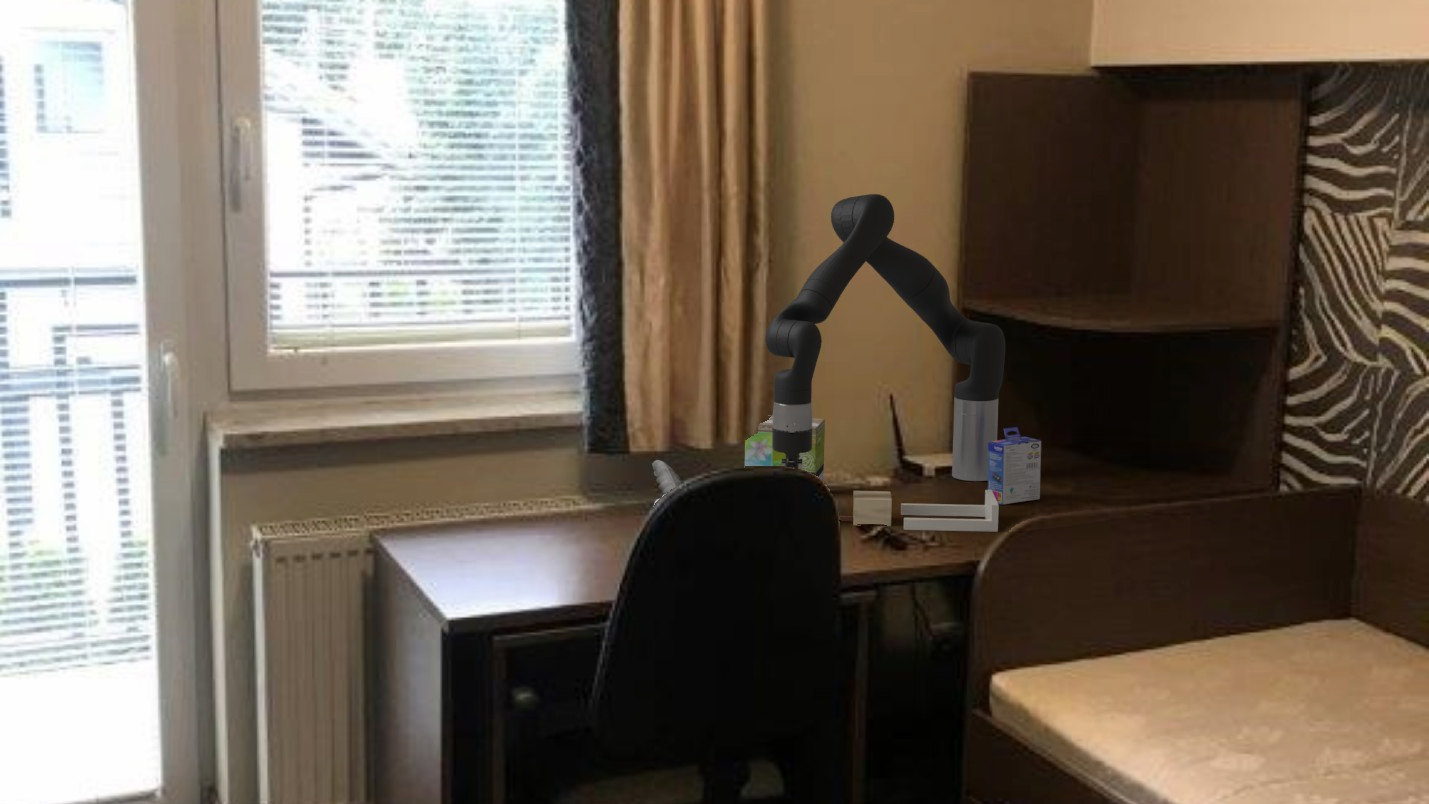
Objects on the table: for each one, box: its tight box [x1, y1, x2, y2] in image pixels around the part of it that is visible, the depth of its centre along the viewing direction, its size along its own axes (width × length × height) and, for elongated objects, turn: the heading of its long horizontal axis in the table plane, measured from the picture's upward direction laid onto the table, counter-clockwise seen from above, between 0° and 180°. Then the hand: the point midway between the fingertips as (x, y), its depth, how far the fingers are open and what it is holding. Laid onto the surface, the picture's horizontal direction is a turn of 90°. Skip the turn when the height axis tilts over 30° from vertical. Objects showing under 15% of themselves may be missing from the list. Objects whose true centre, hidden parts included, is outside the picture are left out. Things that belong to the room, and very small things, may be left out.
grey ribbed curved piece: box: [651, 459, 684, 506], centre depth 295 cm, size 9×18×10 cm, turn 23°
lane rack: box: [900, 489, 1000, 533], centre depth 291 cm, size 12×17×5 cm
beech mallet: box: [839, 490, 893, 527], centre depth 292 cm, size 7×20×6 cm, turn 86°
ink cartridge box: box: [987, 426, 1042, 505], centre depth 308 cm, size 10×6×14 cm, turn 120°
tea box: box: [744, 415, 826, 481], centre depth 316 cm, size 15×10×15 cm
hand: (791, 512), depth 293 cm, fingers open, 5 cm apart
